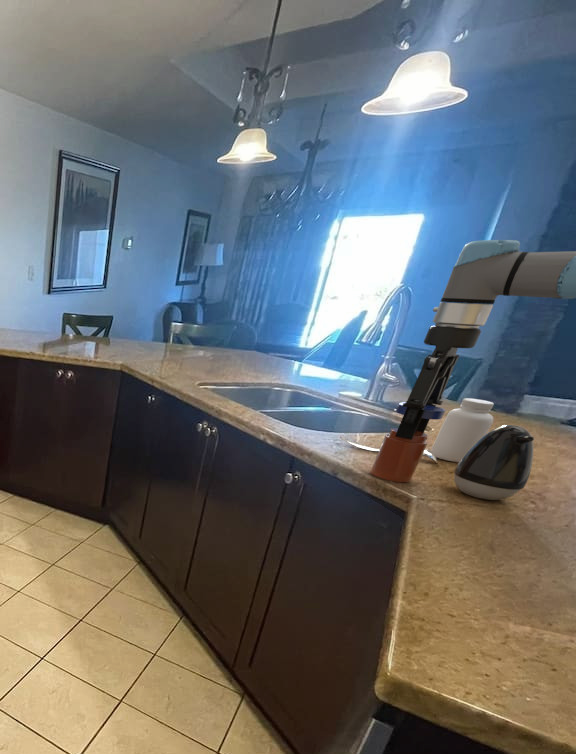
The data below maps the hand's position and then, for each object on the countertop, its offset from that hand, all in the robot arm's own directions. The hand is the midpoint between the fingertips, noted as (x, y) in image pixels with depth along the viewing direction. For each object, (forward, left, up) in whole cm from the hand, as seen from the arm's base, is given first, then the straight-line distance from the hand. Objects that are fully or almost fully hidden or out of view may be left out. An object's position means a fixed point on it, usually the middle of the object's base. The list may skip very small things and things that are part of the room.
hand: (409, 435), depth 107 cm
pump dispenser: (-14, -3, -10) cm, 17 cm away
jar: (0, 0, -10) cm, 10 cm away
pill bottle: (-6, -31, -10) cm, 33 cm away
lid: (0, 0, +6) cm, 6 cm away
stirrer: (+5, -21, -10) cm, 24 cm away
